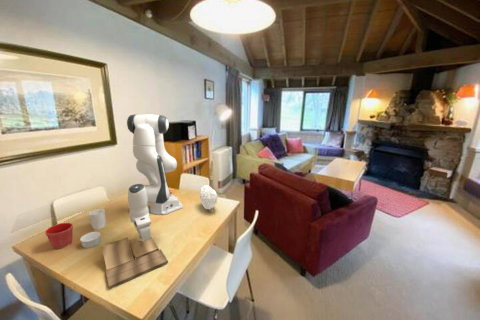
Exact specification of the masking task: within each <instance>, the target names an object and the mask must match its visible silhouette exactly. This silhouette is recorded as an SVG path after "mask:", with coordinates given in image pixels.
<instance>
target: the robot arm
mask: <svg viewBox="0 0 480 320" xmlns="http://www.w3.org/2000/svg"><path fill="white" fill-rule="evenodd" d="M169 126H170V124H169V120H168V118H167V116H165V115H163V114H162V115H161V114H159V115H157V114H150V113H147V114H131V115H129V116H128V117H127V119H126V127H127V130H128V131H129V132H130V133H132V134H133V138H132V153H133V156H134V158H135V159H136V160H137V161H136V163H135V164H136V165H135V167H136V169H137V171H138V172H139V173H140V174H142V175H144V176H145V178H146V179H147V181H148V184H142V183H136V184H132V185H131V186H130V187H129V188H128V189H127V204H128V205H127V206H128V208H129V210H128V211H129V219H130V223H132V224H133V225H134V228H135V230H136V231H137V234H138V237H139V239H140V241H143V242H144V241H147V240H149V239H150V237H152V233H151V225H152V220H151V217H150V214H152V215H162V216H164V215H168V214H170V213H173V212H176V211H178V210H180V209H183V207H184V206H183V203H182V202H181V201H180V200H179V198H178V197H177V196H175V195H174V194H173V191H172V190H170V188H169V185H168V181H167V175H166V173H170V172H174V171H175V170H176V169H177V168H178V162H177V159H176V158H175V157H174V156H171V155H170V154H169V153H168V152H167V150H166V147H165V143H164V142H165V141H164V134H166V133H167V132H168V129H169V128H170V127H169ZM148 204H150V207H148V206H149V205H148Z"/></svg>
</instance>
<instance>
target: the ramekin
mask: <svg viewBox="0 0 480 320" xmlns="http://www.w3.org/2000/svg"><path fill="white" fill-rule="evenodd" d="M79 241H80V242H81V243H80V244H81V245H82V247H83V248H85V249H87V248H88V249H89V248H92V247H95V246H97V245H98V244H99V243H100V242H101V233H100V232H99V231H92V232H91V231H90V232H87V233H86V234H84V235H82V236H81V237H80V238H79Z"/></svg>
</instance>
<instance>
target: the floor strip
mask: <svg viewBox="0 0 480 320" xmlns="http://www.w3.org/2000/svg"><path fill="white" fill-rule="evenodd" d="M167 263H168V264H169V260H168V259H167V256H166V255H165V254H164V252H163V251H162V250H161V249H160V248H159V250H158V251H155V252H153V253H150V254H148V255H145V256H143V257H140V258H138V259H135V258H134V260H133V261H130V262H128V263H125V264H123V265H120V266H117V267H115V268H112V269H110V270H105V276H106V280H107V285H108V289H109V290H112V289H113V288H116V287H118V286H120V285H122V284H125V283H127V282H129V281H131V280H133V279H136V278H138V277H141V276H143V275H145V274H147V273H149V272H152V271H154V270H157V269H159V268H161V267H162V266H165V265H167Z"/></svg>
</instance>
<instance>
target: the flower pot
mask: <svg viewBox="0 0 480 320" xmlns="http://www.w3.org/2000/svg"><path fill="white" fill-rule="evenodd" d="M73 228H74V224H73V223H71V222H62V223H57V224H55V225H52V226H50V227H48V228H47V229H46V230H45V232H44V234H45V235H46V237H47V239H48V241H49V242H50V245H51V246H52V248H53V249H55V250H59V249H63V248H65V247H68V246H69V245H71V243H72V242H73V231H74V229H73Z"/></svg>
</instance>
